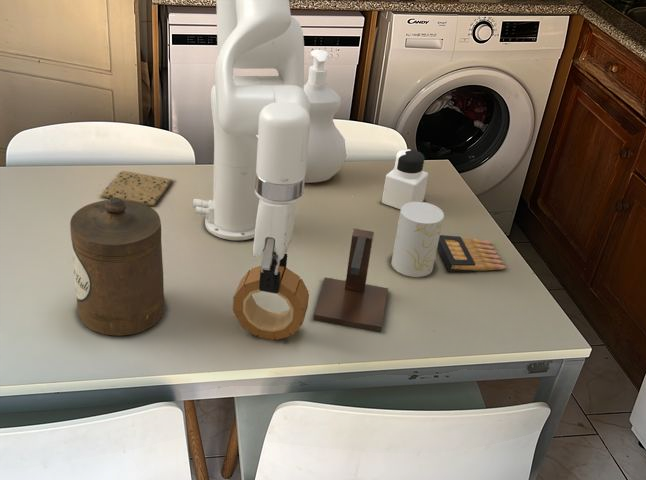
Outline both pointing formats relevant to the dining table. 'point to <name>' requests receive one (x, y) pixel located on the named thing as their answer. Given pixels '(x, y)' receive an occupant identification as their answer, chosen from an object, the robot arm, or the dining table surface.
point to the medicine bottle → (405, 180)
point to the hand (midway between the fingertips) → (272, 281)
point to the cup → (417, 238)
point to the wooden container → (118, 266)
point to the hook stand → (353, 291)
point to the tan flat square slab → (137, 188)
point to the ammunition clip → (468, 254)
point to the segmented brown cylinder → (270, 322)
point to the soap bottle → (322, 124)
